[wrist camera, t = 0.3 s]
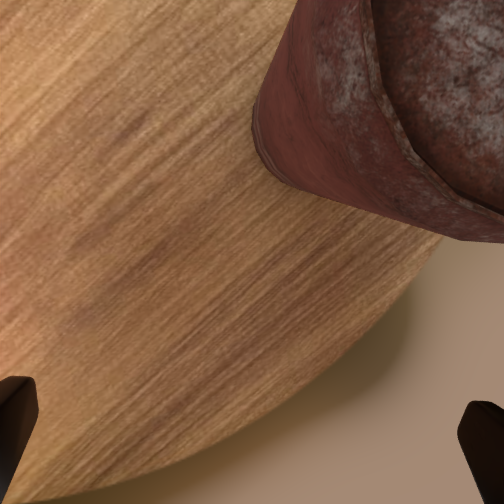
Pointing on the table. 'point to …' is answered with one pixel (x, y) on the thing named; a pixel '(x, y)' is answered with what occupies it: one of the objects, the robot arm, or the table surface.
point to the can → (392, 110)
